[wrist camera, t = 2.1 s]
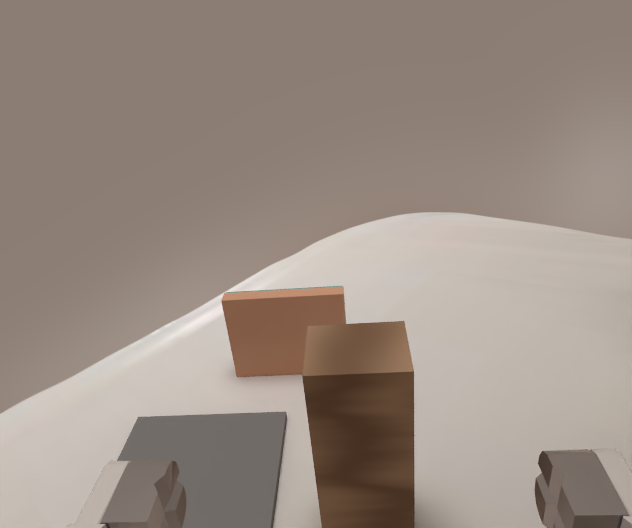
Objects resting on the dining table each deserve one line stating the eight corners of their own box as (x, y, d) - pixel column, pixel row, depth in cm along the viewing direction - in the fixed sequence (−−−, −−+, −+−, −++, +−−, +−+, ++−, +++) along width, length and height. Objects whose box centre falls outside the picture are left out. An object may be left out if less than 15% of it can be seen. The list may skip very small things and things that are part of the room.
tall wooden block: (405, 495, 33) (402, 314, 27) (414, 565, 29) (413, 371, 23) (328, 497, 34) (308, 319, 27) (327, 566, 30) (302, 376, 23)
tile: (349, 361, 46) (343, 284, 43) (349, 372, 45) (343, 293, 41) (240, 366, 47) (225, 291, 43) (237, 377, 46) (221, 300, 42)
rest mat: (287, 417, 41) (286, 411, 40) (267, 566, 30) (266, 560, 30) (140, 422, 42) (138, 417, 41) (70, 569, 31) (67, 562, 31)
